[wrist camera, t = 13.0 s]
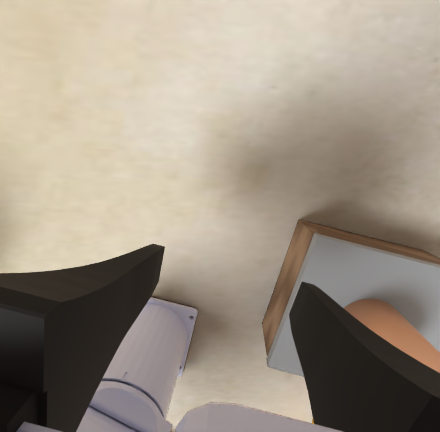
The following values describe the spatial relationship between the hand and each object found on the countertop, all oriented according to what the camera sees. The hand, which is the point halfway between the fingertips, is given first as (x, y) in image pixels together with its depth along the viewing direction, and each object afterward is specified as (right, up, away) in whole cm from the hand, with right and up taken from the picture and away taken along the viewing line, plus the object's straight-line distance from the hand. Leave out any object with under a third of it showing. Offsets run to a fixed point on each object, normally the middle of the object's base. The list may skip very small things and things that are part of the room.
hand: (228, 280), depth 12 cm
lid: (+11, -5, +7) cm, 14 cm away
